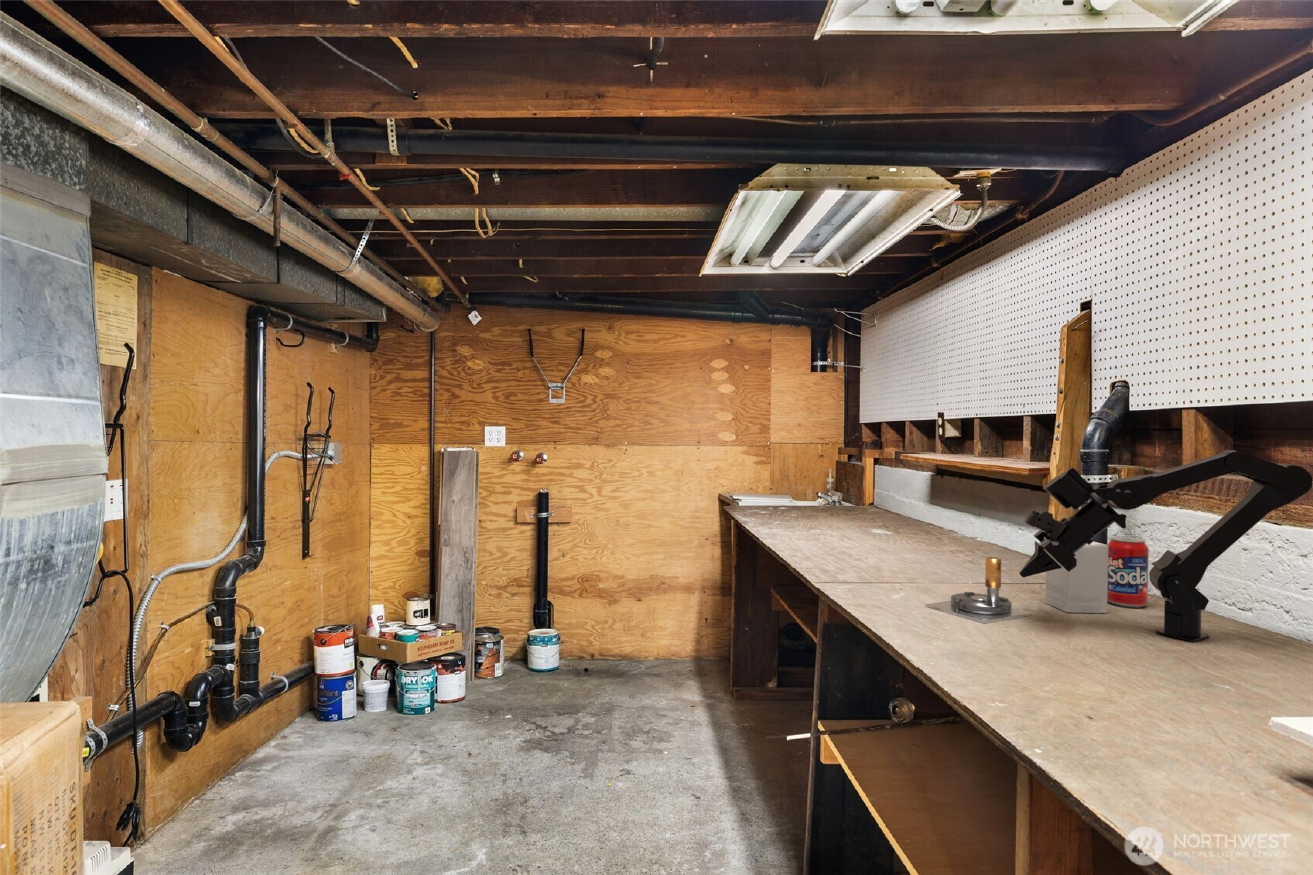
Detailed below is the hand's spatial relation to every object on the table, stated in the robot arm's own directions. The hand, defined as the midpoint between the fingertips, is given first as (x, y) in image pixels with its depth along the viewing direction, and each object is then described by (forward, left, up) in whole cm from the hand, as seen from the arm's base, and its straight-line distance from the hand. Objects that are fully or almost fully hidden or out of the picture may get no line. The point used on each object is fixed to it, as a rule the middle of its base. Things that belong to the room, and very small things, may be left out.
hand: (1021, 575), depth 145 cm
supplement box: (-20, -1, -9) cm, 22 cm away
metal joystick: (+1, -9, -9) cm, 13 cm away
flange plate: (+2, -9, -9) cm, 13 cm away
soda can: (-34, +2, -9) cm, 35 cm away
